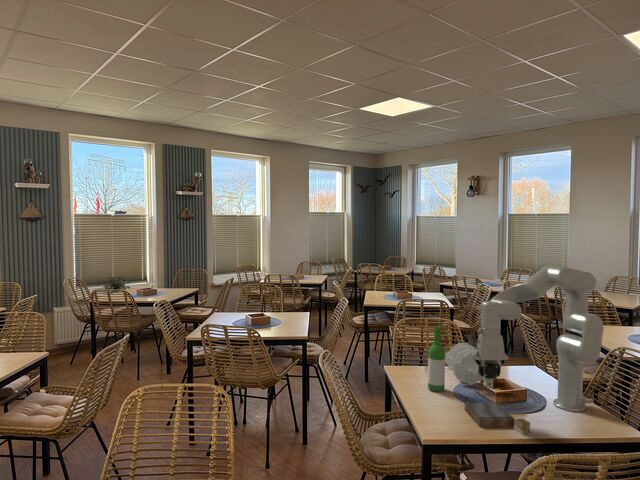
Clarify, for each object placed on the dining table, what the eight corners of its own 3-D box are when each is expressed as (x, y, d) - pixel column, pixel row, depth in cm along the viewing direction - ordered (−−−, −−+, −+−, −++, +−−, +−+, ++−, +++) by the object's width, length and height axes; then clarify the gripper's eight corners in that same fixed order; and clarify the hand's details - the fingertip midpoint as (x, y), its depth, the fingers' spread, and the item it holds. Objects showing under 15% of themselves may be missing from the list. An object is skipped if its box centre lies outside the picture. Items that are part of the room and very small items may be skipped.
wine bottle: (444, 387, 219) (445, 326, 218) (444, 393, 212) (445, 330, 211) (427, 386, 221) (428, 325, 220) (427, 391, 214) (428, 329, 213)
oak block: (522, 428, 176) (522, 418, 176) (530, 433, 172) (530, 422, 172) (513, 429, 175) (514, 419, 175) (521, 434, 171) (521, 424, 171)
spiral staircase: (466, 379, 243) (483, 394, 218) (437, 364, 243) (450, 378, 218) (481, 348, 244) (499, 360, 219) (452, 334, 244) (467, 344, 219)
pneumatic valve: (484, 390, 179) (485, 360, 179) (480, 380, 191) (481, 352, 190) (499, 391, 178) (500, 361, 178) (493, 381, 190) (495, 353, 189)
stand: (496, 409, 193) (496, 401, 193) (514, 426, 177) (514, 417, 177) (464, 410, 193) (464, 402, 193) (479, 426, 177) (479, 418, 177)
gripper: (473, 334, 180) (472, 378, 180) (515, 334, 181) (514, 378, 181) (466, 329, 187) (465, 372, 188) (506, 329, 188) (505, 372, 189)
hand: (489, 375), depth 184 cm, fingers closed on pneumatic valve, 5 cm apart
